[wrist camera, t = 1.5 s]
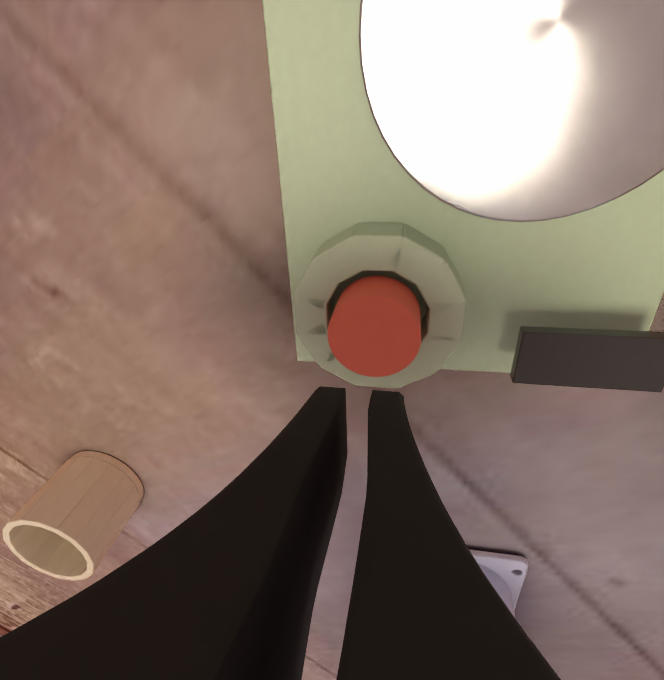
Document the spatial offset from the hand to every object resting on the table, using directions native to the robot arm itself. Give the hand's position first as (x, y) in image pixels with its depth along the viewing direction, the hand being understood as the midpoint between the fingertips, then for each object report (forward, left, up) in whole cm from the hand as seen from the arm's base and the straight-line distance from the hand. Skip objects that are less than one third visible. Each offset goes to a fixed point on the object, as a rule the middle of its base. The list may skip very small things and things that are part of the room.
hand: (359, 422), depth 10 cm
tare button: (0, 0, -6) cm, 6 cm away
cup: (-14, +17, -8) cm, 24 cm away
